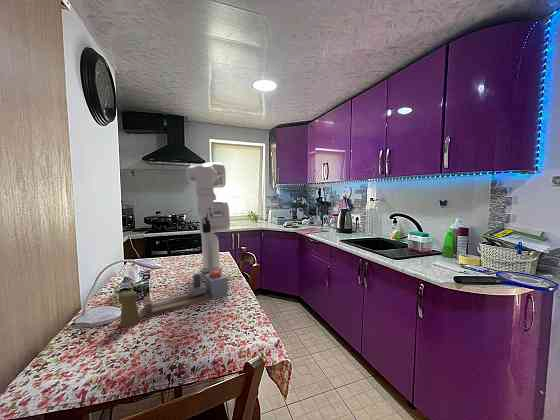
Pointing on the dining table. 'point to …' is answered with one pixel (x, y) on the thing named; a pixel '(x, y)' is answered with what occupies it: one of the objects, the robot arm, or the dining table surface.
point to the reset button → (215, 273)
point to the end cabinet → (216, 286)
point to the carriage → (196, 286)
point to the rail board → (172, 303)
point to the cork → (129, 309)
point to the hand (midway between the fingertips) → (206, 232)
